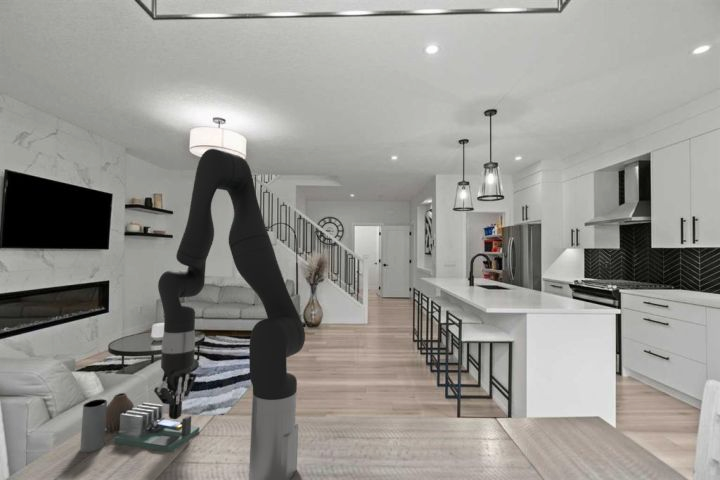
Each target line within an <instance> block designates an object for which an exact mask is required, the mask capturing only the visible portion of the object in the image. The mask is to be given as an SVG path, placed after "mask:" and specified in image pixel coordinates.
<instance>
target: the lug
mask: <svg viewBox="0 0 720 480" xmlns="http://www.w3.org/2000/svg"><path fill="white" fill-rule="evenodd" d="M180 425H182V436H186V435H187V434H189V433H190V432H191V426H192V415H187V416H185V417H183V418H182V421H181V422H180Z"/></svg>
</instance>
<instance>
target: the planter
mask: <svg viewBox="0 0 720 480" xmlns="http://www.w3.org/2000/svg"><path fill="white" fill-rule="evenodd" d="M107 403H108V400H107V399H102V398H100V399H93V400H89V401H86V402H85V403H84V404H83V407H82V417H81V418H82V419H81V433H80V436H81V437H80V452H81V453H91V452H92V453H93V452H95V451H98V450H100V449H102V448H103V447H104V446H105V437H106V428H105V425H106V410H107V406H108V404H107Z"/></svg>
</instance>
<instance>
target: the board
mask: <svg viewBox="0 0 720 480" xmlns="http://www.w3.org/2000/svg"><path fill="white" fill-rule="evenodd" d="M200 428H201V427H200V426H197V425H191V432H190V433H189V434H187V435H186V436H182V429H180V430H179V431H177V430H172V429H167V428H163V429H161V430H160V431H158V432H157V433H150V432H149V433H148V434H146V435H145V436H143V437H141V438H140V439H137V438H130V437H124V436H118V435H117V436H115V437H114V439H113V443H116V444H120V445H127V446H131V447H132V446H133V447H137V448H143V449H144V448H146V449H150V450H151V449H152V450H156V451H157V450H158V451H163V452H170V453H173V452H174V451H175V450H176V449H177V448H179V447H180V446H182V445H184V443H186V442H188V441H189V440H190V439H191V438H193V437H194V436H196V435H197V434H199V432H200Z"/></svg>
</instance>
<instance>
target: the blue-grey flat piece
mask: <svg viewBox="0 0 720 480" xmlns="http://www.w3.org/2000/svg"><path fill="white" fill-rule="evenodd" d="M152 427H153V428H155V427H162V428H167V429H172V430H177V431H179V430H180V429H182V425H180V422H179V421H175V420H171V419H170V420H169V419H166V418H165V417H164V416H163V417H162V418H161V419H159V420H157V421H156V422H154V423H152Z"/></svg>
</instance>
